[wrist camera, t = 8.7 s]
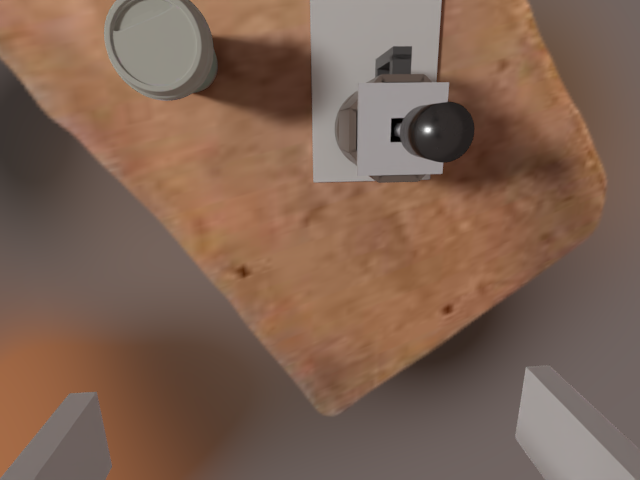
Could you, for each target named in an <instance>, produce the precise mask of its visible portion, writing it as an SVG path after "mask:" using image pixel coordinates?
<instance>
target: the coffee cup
mask: <svg viewBox="0 0 640 480" xmlns="http://www.w3.org/2000/svg"><path fill="white" fill-rule="evenodd" d="M104 39H105V45H106V49H107V52H108V55H109V58H110V61H111V63H112V65H113V67H114V68H115V70H116V71H117V73H118V74H119V76H120V77H121V78H122V79H123V80H124V81H125V82H126V83H127V84H128V85H129V86H131V87H132V88H133V89H134V90H136V91H137V92H139V93H141V94H143V95H145V96H147V97H150V98H153V99H157V100H166V101H168V100H177V99H181V98H184V97H186V96H188V95H190V94H192V93H195V92H199V91H202V90H204V89H206V88H207V87H209V86H210V85H211V84H212V82H213V81H214V79H215V77H216V74H217V70H218V62H217V57H216V54H215V51H214V48H213V39H212V35H211V32H210V29H209V26H208V24H207V22H206V20H205V18H204V17H203V15H202V14H201V12H200V11H199V10H198V8H197V7H196V6H195V5H194V4H193V3H192V2H191V1H189V0H116V2H115V3H114V4H113V5H112V7H111V8H110V10H109V12H108V15H107V17H106V21H105V27H104Z"/></svg>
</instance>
